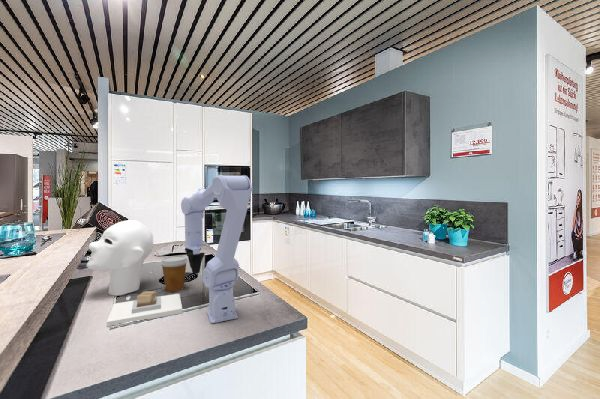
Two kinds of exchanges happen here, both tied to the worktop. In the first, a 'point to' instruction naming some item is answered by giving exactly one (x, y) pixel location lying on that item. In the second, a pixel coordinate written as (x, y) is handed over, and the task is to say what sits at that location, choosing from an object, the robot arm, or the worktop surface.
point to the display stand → (145, 310)
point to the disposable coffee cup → (174, 272)
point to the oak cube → (146, 299)
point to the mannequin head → (122, 255)
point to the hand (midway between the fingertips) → (194, 270)
